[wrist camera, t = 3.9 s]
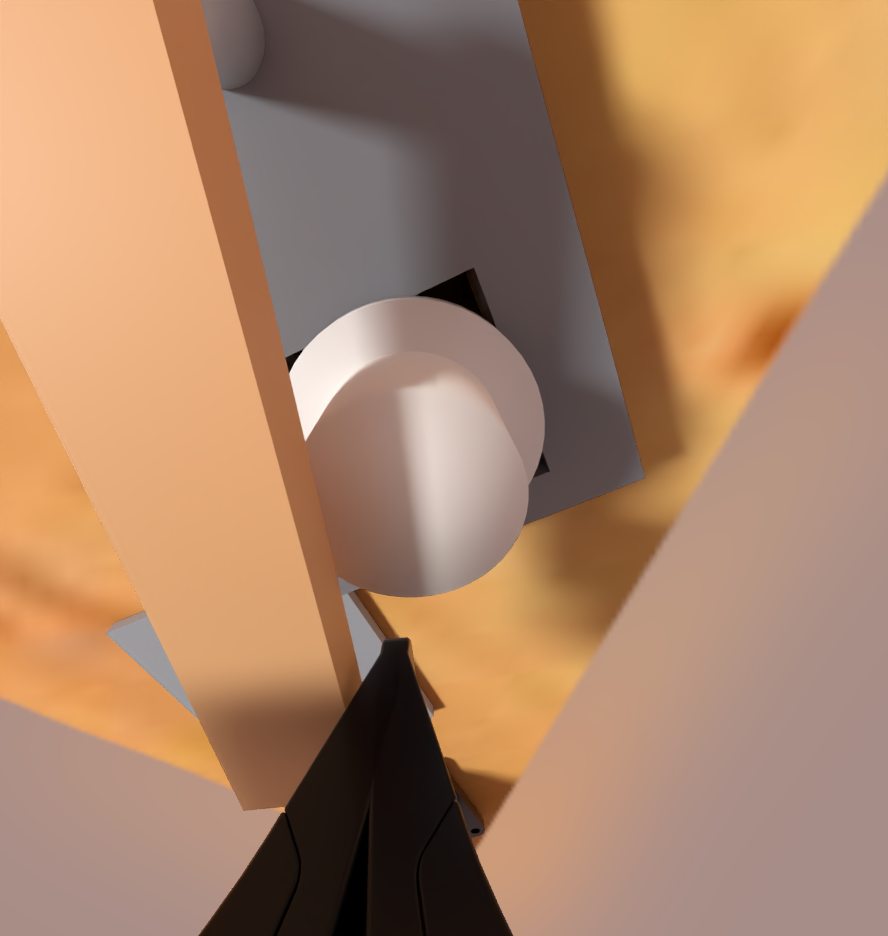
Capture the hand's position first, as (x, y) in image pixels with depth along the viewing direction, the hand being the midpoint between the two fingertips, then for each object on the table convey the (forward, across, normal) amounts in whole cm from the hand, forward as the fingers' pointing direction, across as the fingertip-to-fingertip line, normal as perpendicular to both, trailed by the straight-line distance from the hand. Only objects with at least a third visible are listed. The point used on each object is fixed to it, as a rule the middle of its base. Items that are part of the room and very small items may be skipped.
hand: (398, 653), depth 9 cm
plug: (+7, 0, -3) cm, 8 cm away
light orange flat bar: (0, +2, -5) cm, 5 cm away
